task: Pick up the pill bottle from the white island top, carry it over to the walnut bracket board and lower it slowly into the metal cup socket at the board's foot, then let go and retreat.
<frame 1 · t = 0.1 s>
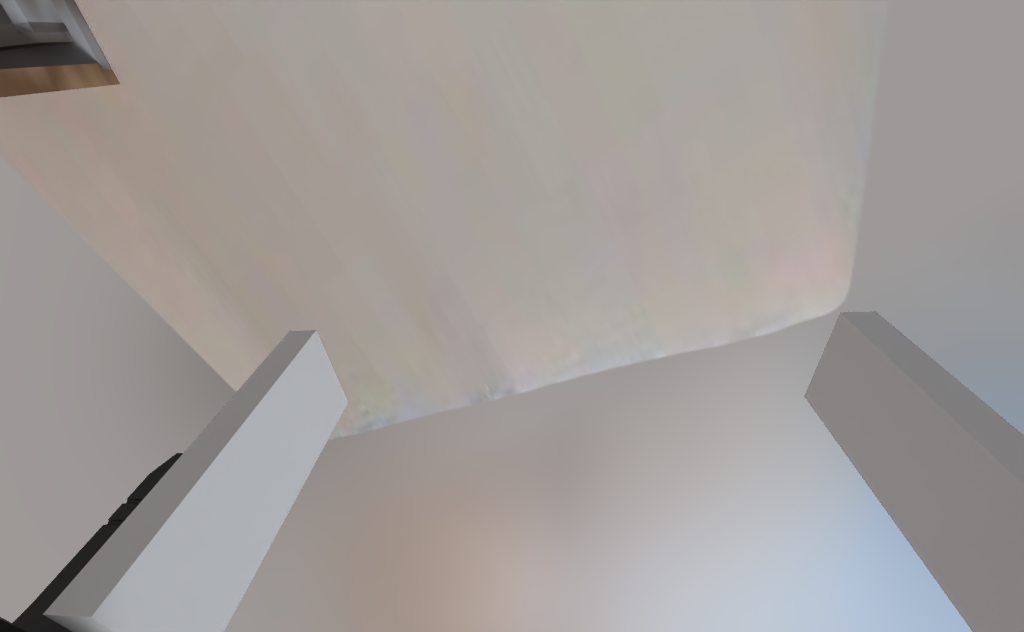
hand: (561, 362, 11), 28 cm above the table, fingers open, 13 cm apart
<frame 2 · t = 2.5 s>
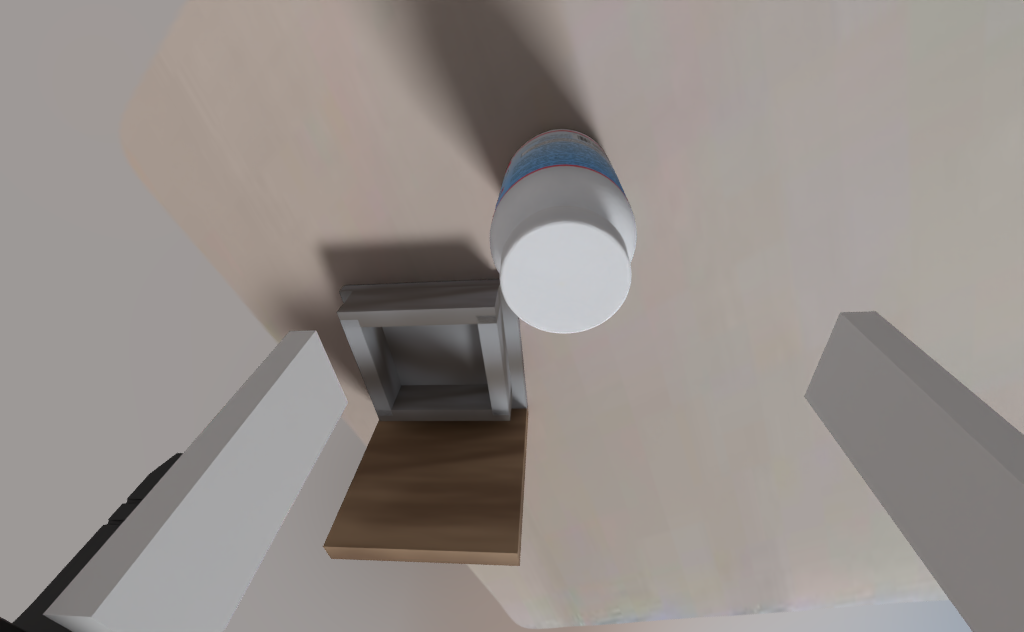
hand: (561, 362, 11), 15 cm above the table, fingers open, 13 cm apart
cup bracket: (441, 340, 31), on the table
pill bottle: (558, 183, 24), on the table
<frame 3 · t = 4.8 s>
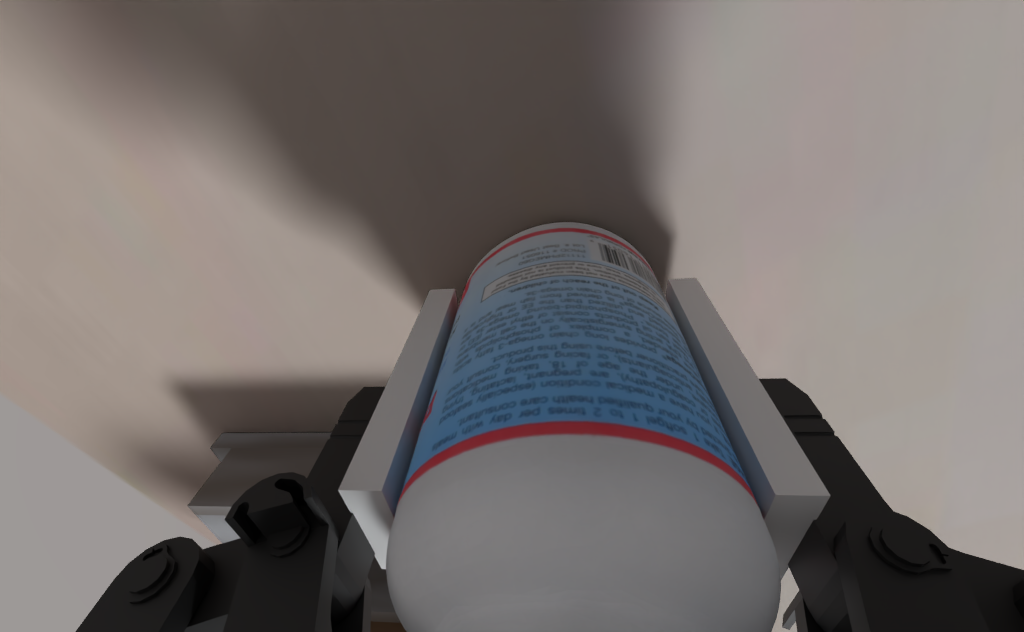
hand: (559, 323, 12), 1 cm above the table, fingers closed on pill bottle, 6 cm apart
cup bracket: (382, 499, 20), on the table
pill bottle: (559, 303, 13), on the table, touching gripper
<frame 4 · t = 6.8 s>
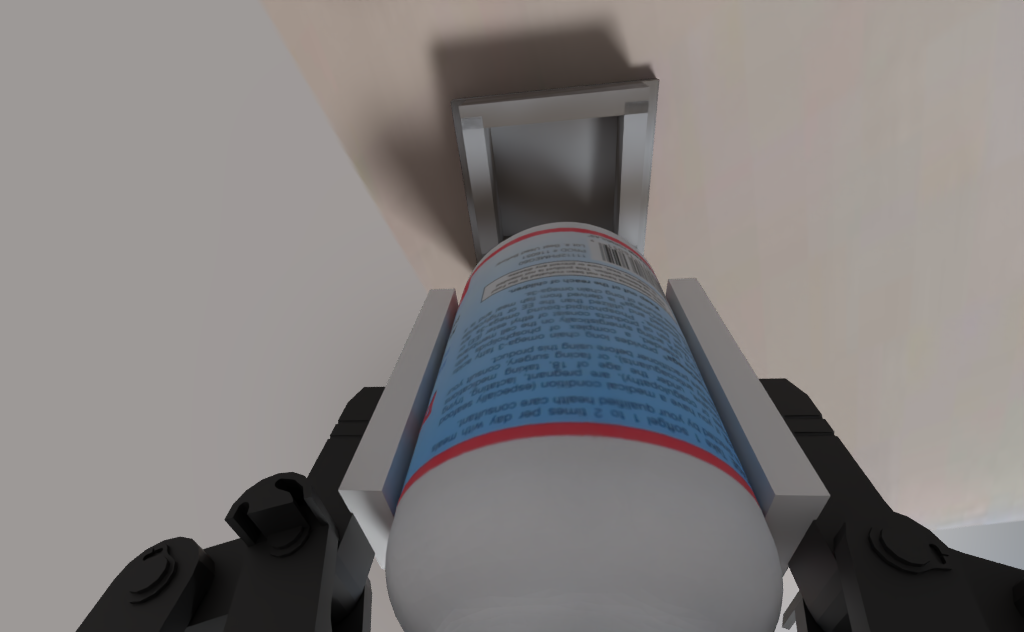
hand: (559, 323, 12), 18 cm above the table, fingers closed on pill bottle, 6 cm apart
cup bracket: (555, 174, 27), on the table
pill bottle: (559, 303, 13), point 16 cm above the table, touching gripper
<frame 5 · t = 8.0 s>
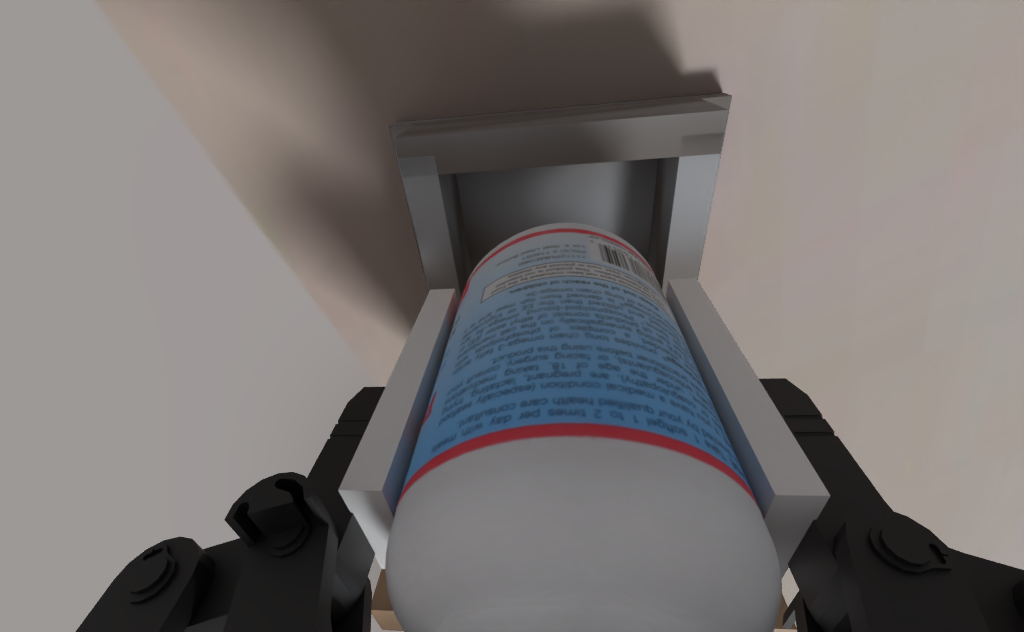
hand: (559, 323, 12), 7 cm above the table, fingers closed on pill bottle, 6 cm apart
cup bracket: (556, 235, 18), on the table
pill bottle: (559, 303, 13), point 6 cm above the table, touching gripper
when the fingers open (4 cm above the table, at t = 9.1 s): pill bottle drops 2 cm, resting on cup bracket.
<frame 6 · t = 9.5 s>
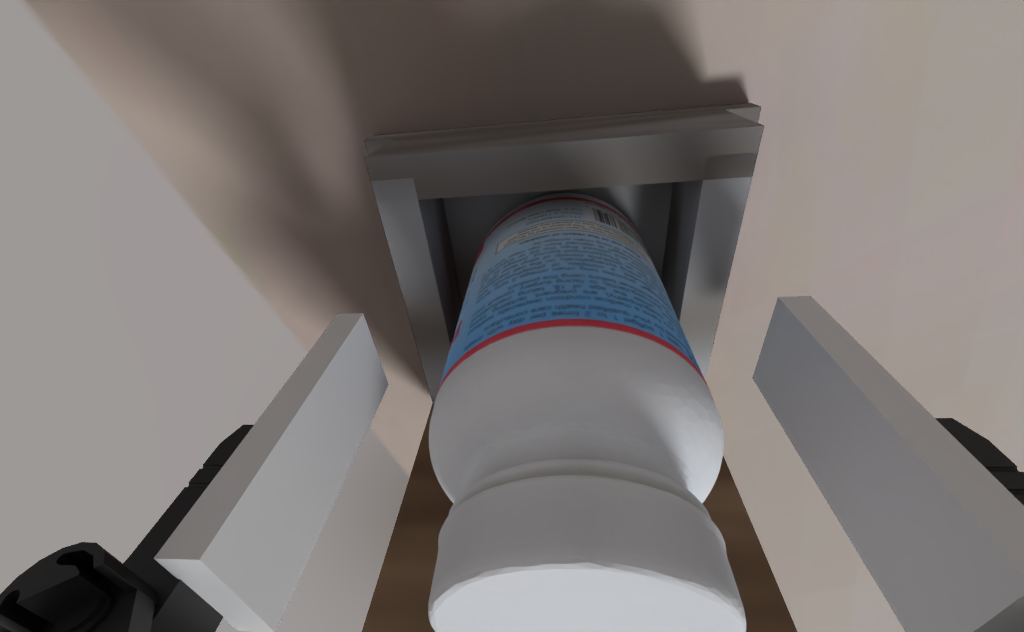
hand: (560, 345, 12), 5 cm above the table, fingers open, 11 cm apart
cup bracket: (556, 260, 16), on the table
pill bottle: (559, 267, 15), point 1 cm above the table, touching cup bracket
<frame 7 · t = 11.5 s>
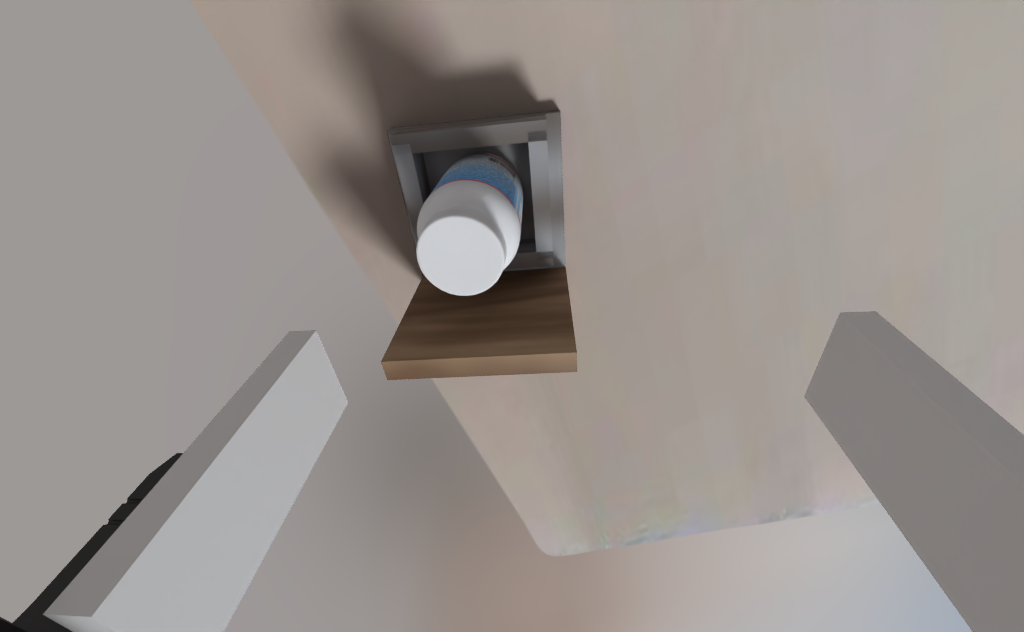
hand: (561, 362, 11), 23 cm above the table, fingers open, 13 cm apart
cup bracket: (483, 191, 31), on the table
pill bottle: (483, 193, 31), point 1 cm above the table, touching cup bracket
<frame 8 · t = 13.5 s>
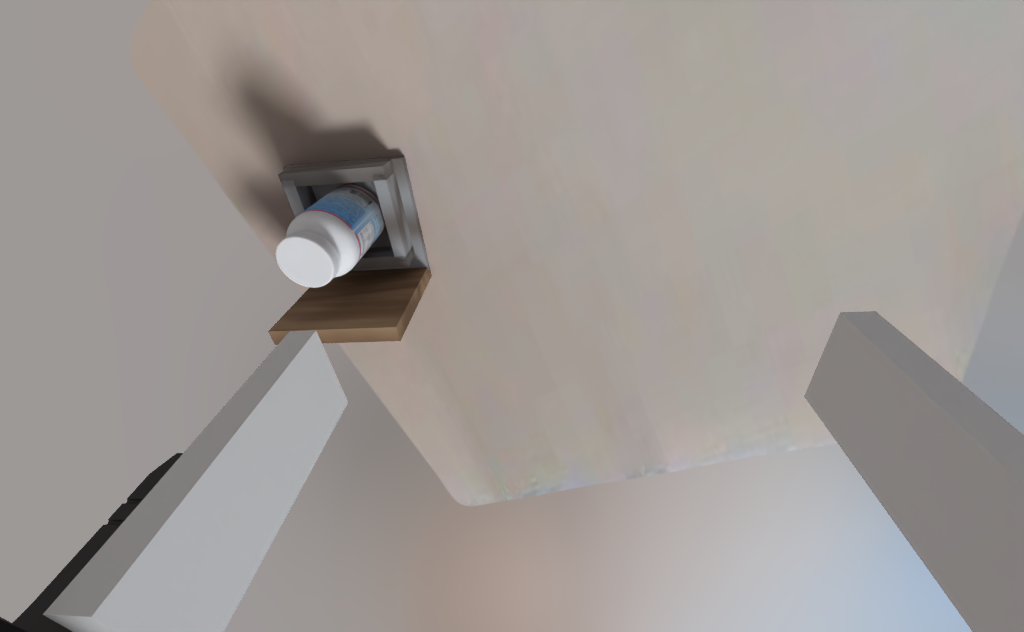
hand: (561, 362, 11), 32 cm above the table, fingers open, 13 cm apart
cup bracket: (360, 210, 43), on the table
pill bottle: (358, 212, 42), point 1 cm above the table, touching cup bracket
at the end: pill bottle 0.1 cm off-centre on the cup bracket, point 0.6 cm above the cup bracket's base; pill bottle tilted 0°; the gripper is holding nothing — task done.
